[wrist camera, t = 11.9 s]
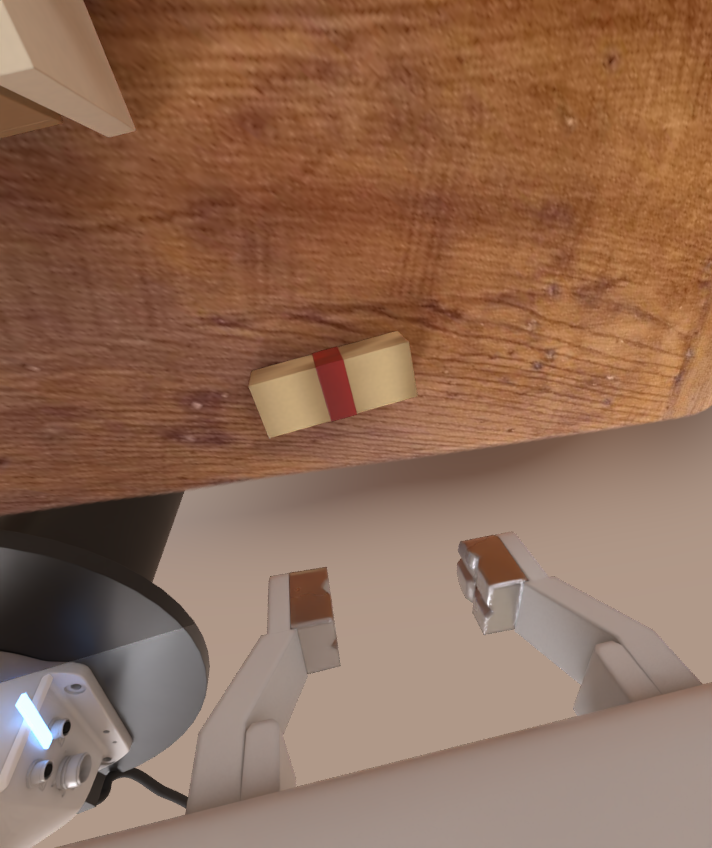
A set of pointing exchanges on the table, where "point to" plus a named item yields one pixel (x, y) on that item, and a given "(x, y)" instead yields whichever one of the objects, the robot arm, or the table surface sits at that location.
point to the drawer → (55, 70)
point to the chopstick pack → (333, 383)
